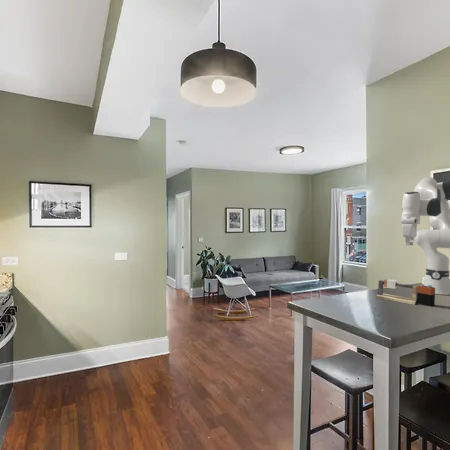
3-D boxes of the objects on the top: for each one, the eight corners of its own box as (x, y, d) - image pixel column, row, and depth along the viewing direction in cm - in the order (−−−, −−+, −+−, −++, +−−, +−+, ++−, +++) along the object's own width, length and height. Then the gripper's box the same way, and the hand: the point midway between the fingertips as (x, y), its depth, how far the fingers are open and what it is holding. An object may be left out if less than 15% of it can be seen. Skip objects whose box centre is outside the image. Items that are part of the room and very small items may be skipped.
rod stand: (380, 295, 173) (381, 278, 173) (417, 301, 161) (418, 283, 162) (375, 297, 166) (376, 279, 166) (414, 304, 154) (415, 285, 154)
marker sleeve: (388, 286, 168) (388, 279, 168) (396, 287, 166) (397, 280, 166) (386, 287, 165) (386, 280, 165) (394, 288, 162) (395, 281, 162)
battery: (431, 306, 152) (432, 286, 152) (416, 303, 157) (417, 284, 157) (434, 305, 154) (435, 285, 154) (419, 302, 160) (420, 283, 160)
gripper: (407, 221, 180) (406, 244, 180) (400, 219, 164) (399, 245, 164) (420, 221, 176) (419, 245, 176) (413, 219, 160) (412, 246, 160)
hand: (409, 245), depth 170 cm, fingers open, 8 cm apart
